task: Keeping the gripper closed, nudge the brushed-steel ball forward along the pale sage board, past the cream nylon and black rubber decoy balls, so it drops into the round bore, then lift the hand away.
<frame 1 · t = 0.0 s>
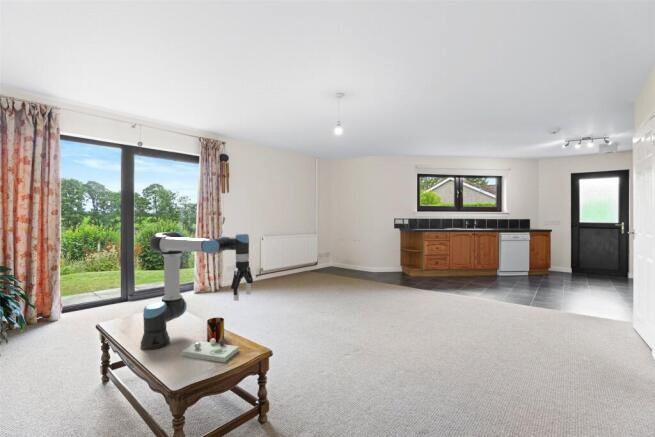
hand: (242, 297, 188), 28 cm above the table, fingers open, 13 cm apart
rubber decoy: (222, 342, 183), point 4 cm above the table, touching board
board: (210, 353, 179), on the table
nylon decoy: (212, 341, 184), point 4 cm above the table, tilted 13°, touching board
steel ball: (197, 345, 178), point 4 cm above the table, touching board
mug: (217, 341, 195), on the table
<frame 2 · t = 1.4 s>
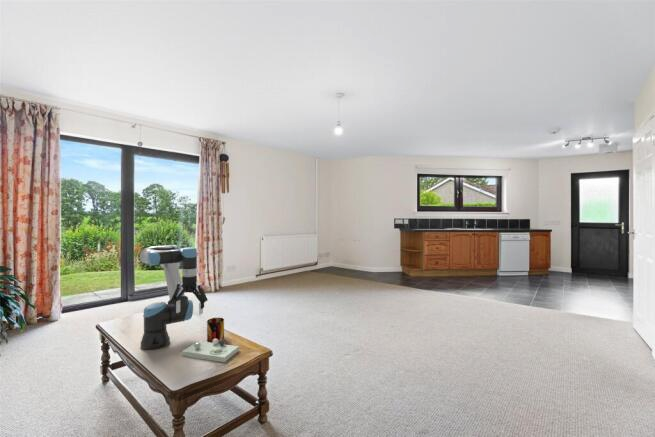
hand: (189, 313, 182), 21 cm above the table, fingers open, 13 cm apart
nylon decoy: (215, 341, 184), point 4 cm above the table, tilted 73°, touching board
everything else where it was.
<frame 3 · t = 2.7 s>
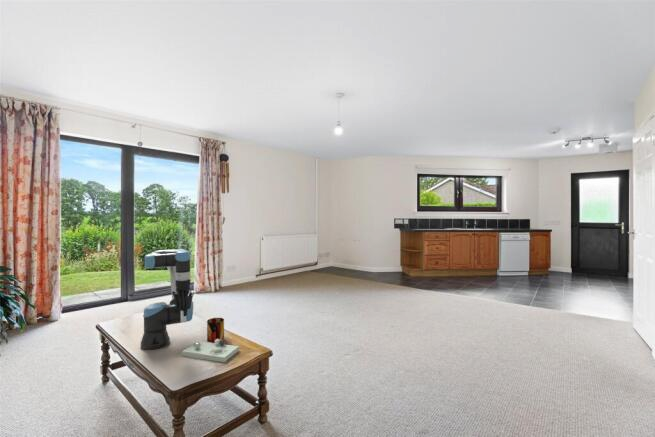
hand: (183, 321, 180), 17 cm above the table, fingers closed
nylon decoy: (217, 341, 184), point 4 cm above the table, tilted 118°, touching board
everything else where it was.
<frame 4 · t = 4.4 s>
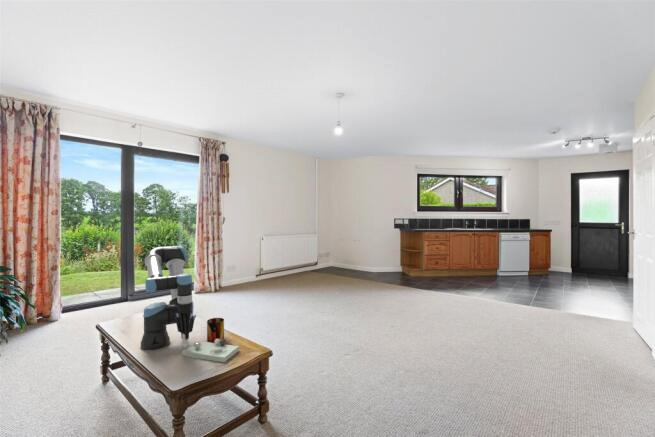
hand: (185, 344, 180), 4 cm above the table, fingers closed
rubber decoy: (222, 342, 183), point 4 cm above the table, tilted 8°, touching board
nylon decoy: (217, 341, 184), point 4 cm above the table, tilted 113°, touching board
everything else where it was.
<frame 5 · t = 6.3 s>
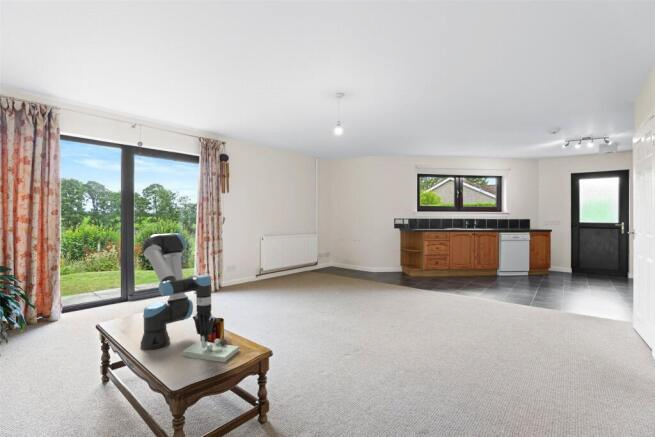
hand: (204, 347, 177), 4 cm above the table, fingers closed
rubber decoy: (223, 342, 183), point 4 cm above the table, tilted 17°, touching board
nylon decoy: (217, 341, 184), point 4 cm above the table, tilted 106°, touching board
steel ball: (209, 347, 176), point 4 cm above the table, tilted 85°, touching board
everything else where it was.
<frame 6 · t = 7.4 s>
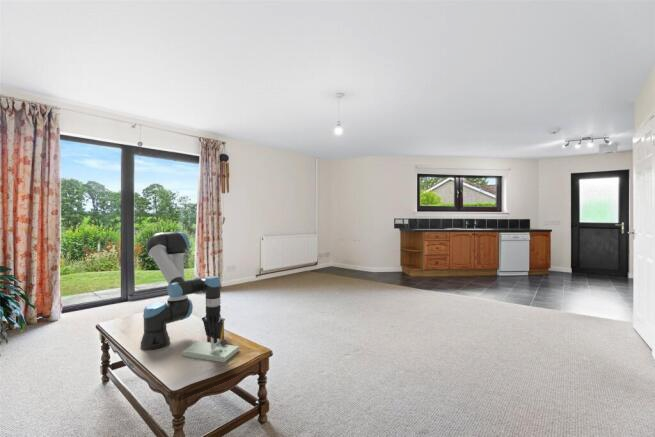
hand: (213, 348, 176), 4 cm above the table, fingers closed
steel ball: (217, 353, 175), point 2 cm above the table, tilted 107°
everything else where it was.
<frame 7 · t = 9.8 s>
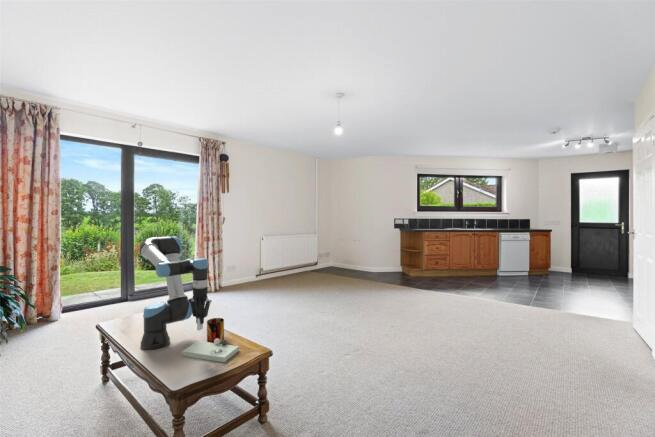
hand: (199, 329, 178), 13 cm above the table, fingers closed
rubber decoy: (223, 342, 183), point 4 cm above the table, tilted 32°, touching board
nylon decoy: (217, 341, 184), point 4 cm above the table, tilted 95°, touching board
steel ball: (217, 353, 175), point 2 cm above the table, tilted 122°
everything else where it was.
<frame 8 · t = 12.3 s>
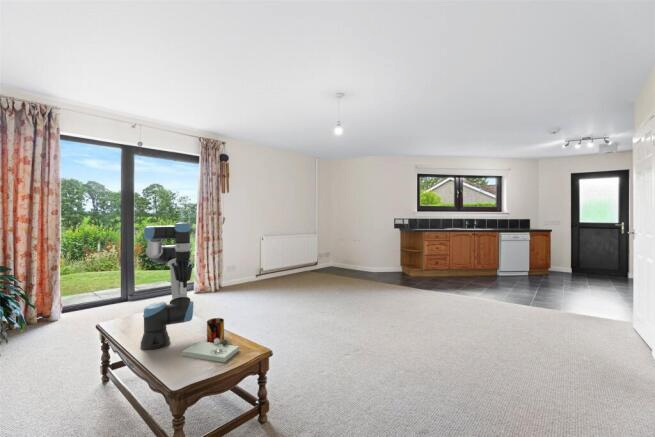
hand: (183, 293, 180), 32 cm above the table, fingers closed
rubber decoy: (224, 342, 183), point 4 cm above the table, tilted 43°, touching board
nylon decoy: (216, 341, 185), point 4 cm above the table, tilted 87°, touching board
steel ball: (218, 353, 175), point 2 cm above the table, tilted 138°
at the end: steel ball 0.2 cm from the target spot in the board, point 1.6 cm above the board's base; rubber decoy moved 1.2 cm from its start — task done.
